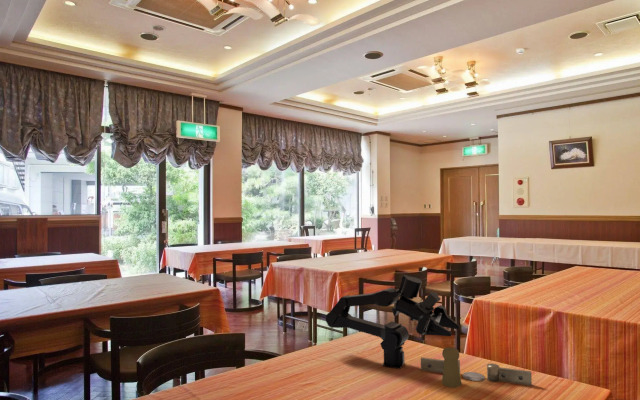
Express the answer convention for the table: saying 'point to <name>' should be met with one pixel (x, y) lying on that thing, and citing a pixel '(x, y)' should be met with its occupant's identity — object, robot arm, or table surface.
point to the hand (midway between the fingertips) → (455, 331)
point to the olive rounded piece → (451, 368)
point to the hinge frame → (493, 374)
